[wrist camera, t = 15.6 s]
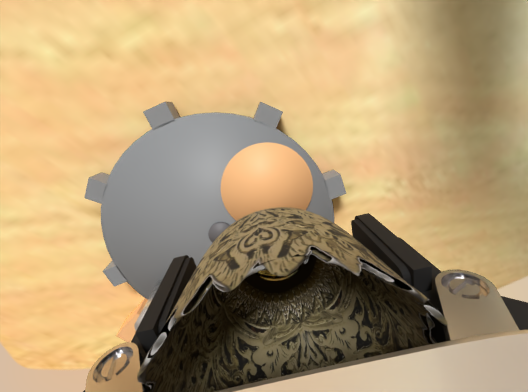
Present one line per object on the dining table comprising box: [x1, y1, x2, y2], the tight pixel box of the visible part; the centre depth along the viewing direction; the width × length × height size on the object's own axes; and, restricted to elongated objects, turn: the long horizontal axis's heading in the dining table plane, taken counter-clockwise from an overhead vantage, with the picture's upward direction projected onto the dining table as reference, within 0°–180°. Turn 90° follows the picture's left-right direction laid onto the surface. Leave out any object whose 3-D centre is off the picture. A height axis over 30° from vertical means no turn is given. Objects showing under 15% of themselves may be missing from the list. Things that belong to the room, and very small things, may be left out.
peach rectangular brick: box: [116, 298, 147, 342], centre depth 28 cm, size 4×2×2 cm, turn 138°
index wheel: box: [85, 102, 346, 330], centre depth 22 cm, size 24×24×7 cm
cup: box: [137, 207, 448, 392], centre depth 9 cm, size 8×7×8 cm
